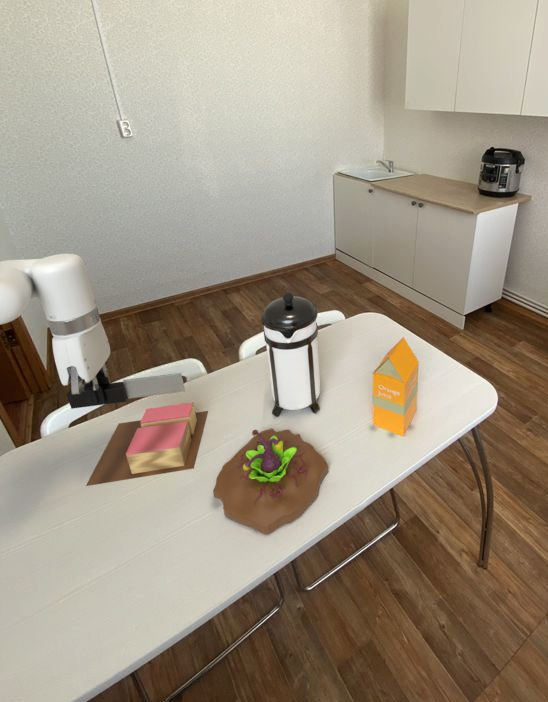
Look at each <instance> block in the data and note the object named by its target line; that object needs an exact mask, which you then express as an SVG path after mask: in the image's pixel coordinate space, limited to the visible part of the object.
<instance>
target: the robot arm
mask: <svg viewBox="0 0 548 702" xmlns="http://www.w3.org/2000/svg"><path fill="white" fill-rule="evenodd" d="M33 298H38V299H39V300H40V304H41V307H42V310H43V313H44V315H45V319H46V321H47V324H48V327H49V330H50V333H51V335H52V336H53V337H52V339H51V341H52V342H51V343H52V353H53V358H54V362H55V366H56V371H57V373H58V378H59V380H60V383H61V384H62V386H65V387H66V386H68V385H69V384H70V389H71V391H72V394H81V393H82V392H83V394H84V397H85V400H86V403H87V405H88V406H89V407H95V406H96V405H97V406H104V405H106V404H105V402H106V399H105V396H104V393H103V390H102V386H99V384H107V383H110V380H109V377H108V374H109V371H108V368H107V364H108V363H107V361H108V359H109V358H110V356H111V346H110V343H109V339H108V336H107V332H106V330H105V328H104V325H103V324H102V320H101V319H102V318H101V317H100V312H99V309H98V306H97V302H96V299H95V295H94V293H93V289H92V284H91V282H90V278H89V275H88V271H87V269H86V264H85V262H84V260H83V258H82V257H81V256H80V255H78V254H75V253H58V254H57V253H56V254H52V255H48V256H45V257H41V258H27V259H25V258H24V259H6V260H1V261H0V326H2V325H4V324H8V323H10V322H11V323H12V322H14V321H15V320H16V319H18V318H19V317H20V316H21V315H23V314H24V312H25V311H26V309H27V308H28V306H29V304H30V301H31V300H32V299H33ZM103 404H104V405H103ZM97 406H96V407H97Z"/></svg>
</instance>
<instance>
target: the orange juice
mask: <svg viewBox="0 0 548 702" xmlns="http://www.w3.org/2000/svg"><path fill="white" fill-rule="evenodd" d="M419 363H420V362H419V359H418V358H417V356H416V354H415V353H414V351H413V350H412V348H411V346H410V345H409V343H408V342H407V340H406V338H405V337H404V336H403V337H402V338H401V339H400V340H399V341H397V342H396V344H395V345H394V346H393V347H392V348H391V349H390V350H389V351H387V353H386V354H385V356H384V358H382V360H381V362H380V363H379V364H378V366H377V367H376V368H375V369H374V371H373V372H372V425H373V426H375V427H377V428H379V429H382V430H385V431H387V432H390V433H392V434H395V435H398V436H401V437H404V436H405V434H406V432H407V431H408V428H409V427H410V424H411V422H412V420H413V418H414V416H415V414H416V412H417V407H418V406H417V405H418V404H417V403H418V387H419V385H418V384H419V382H418V381H419Z"/></svg>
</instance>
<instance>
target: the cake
mask: <svg viewBox="0 0 548 702" xmlns="http://www.w3.org/2000/svg"><path fill="white" fill-rule="evenodd" d="M195 414H196V419H197V423H196V426H195V430H194V433H193V435H190V431H189V426H188V422H187V421H184V422H177V423H170V424H163V425H156V426H149V427H142V426H141V423H140V422H141V420H142V419H140V420H134V421H127V422H120V423H118V424H117V425H116V428H115V430H114V431H113V433H112V435H111V437H110V439H109V440H108V443H107V445H106V447H105V448H104V450H103V452H102V454H101V456H100V458H99V460H98V461H97V464H96V466H95V468H94V469H93V471H92V474H91V475H90V477H89V479H88V480H87V483H86V485H85V486H86V487H89V486H95V485H102V484H108V483H114V482H119V481H127V480H132V479H138V478H145V477H150V476H151V477H152V476H157V475H163V474H169V473H175V472H180V471H188V470H194V469H195V465H196V461H197V457H198V453H199V449H200V446H201V442H202V438H203V433H204V429H205V426H206V422H207V418H208V415H209V410H205V411H197V412H195Z"/></svg>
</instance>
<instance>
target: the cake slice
mask: <svg viewBox="0 0 548 702" xmlns="http://www.w3.org/2000/svg"><path fill="white" fill-rule="evenodd" d="M194 404H195V403H194V402H187V403H178V404H171V405H165V406H158V407H157V406H156V407H149V408H146V409H145V411H144V413H143V416H142V417H141V419H140V420H141V422H140V423H141V426H142V427H149V426H156V425H163V424H170V423H177V422H184V421H187V422H188V426H189V431H190V435H193V433H194V430H195V426H196V423H197V419H196V414H195V413H196V409H195V405H194Z"/></svg>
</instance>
